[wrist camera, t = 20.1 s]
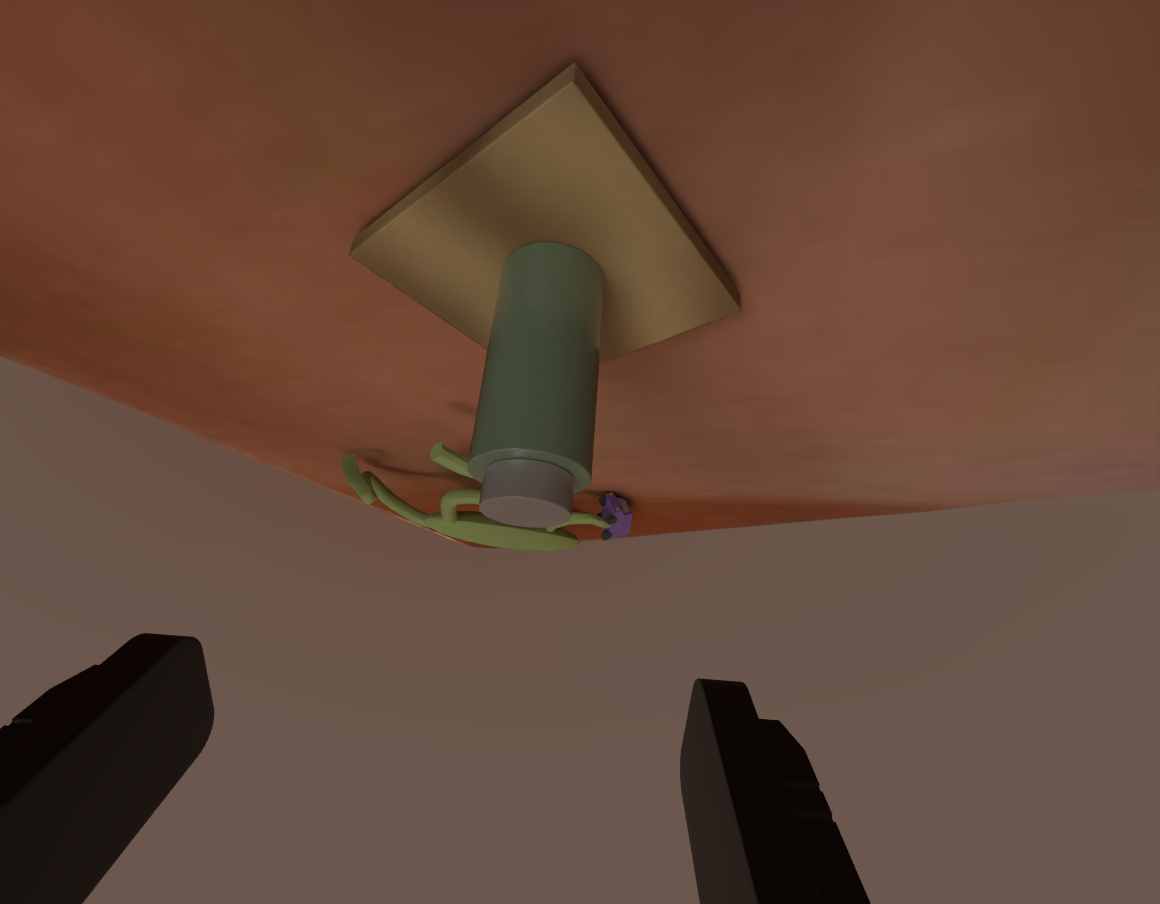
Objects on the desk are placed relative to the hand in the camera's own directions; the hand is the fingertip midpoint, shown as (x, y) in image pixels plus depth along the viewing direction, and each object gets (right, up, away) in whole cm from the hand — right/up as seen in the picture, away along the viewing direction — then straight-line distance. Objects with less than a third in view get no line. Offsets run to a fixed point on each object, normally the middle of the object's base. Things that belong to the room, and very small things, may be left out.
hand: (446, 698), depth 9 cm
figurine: (-5, +2, +40) cm, 40 cm away
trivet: (+1, +12, +15) cm, 20 cm away
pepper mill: (+1, +11, +14) cm, 18 cm away
